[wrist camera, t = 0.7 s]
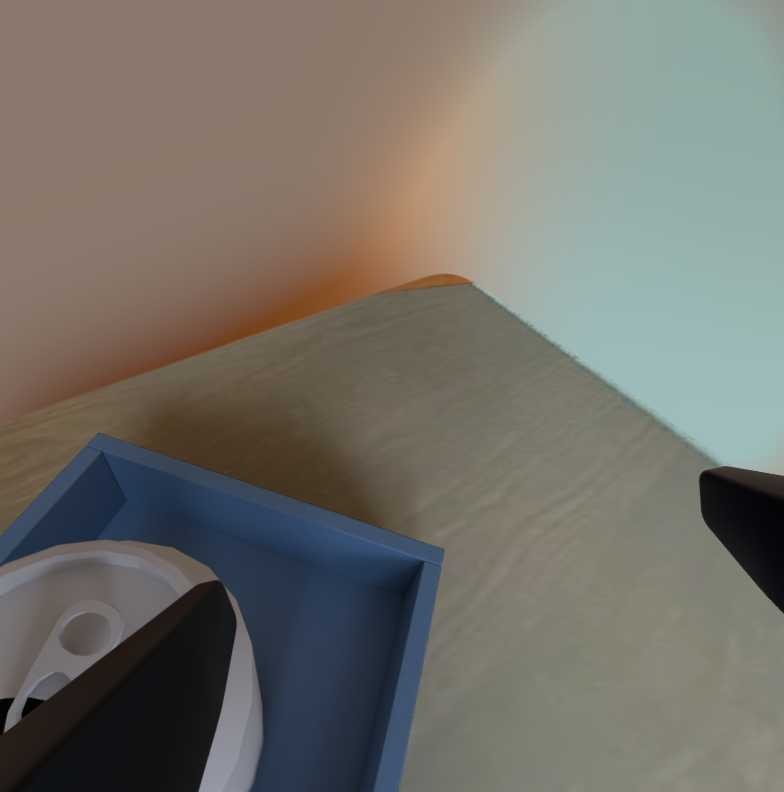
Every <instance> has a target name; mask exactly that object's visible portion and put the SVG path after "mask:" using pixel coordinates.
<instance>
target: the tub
mask: <svg viewBox="0 0 784 792" xmlns="http://www.w3.org/2000/svg"><path fill="white" fill-rule="evenodd" d="M105 539H106V540H112V541H118V542H119V541H128V540H130V541H136V542H142V543H148V544H154V545H160V546H166V547H172V548H174V549H176V550H178V551H180V552H182V553H184V554H185V555H187V556H189V557H191V558H193V559H195V560H196V561H198V562H200V563H202V564H204V565H206V566H207V567H209V568H210V569H211V570H212V571H213V573H214V574H215V575H216V576H217V577H218V579H219V580H220V581H221V582H222V583H223V584H224V586H225V587H226V588H227V589H228V590H229V592H230V593H231V594H232V595H233V596H234V598H235V599H236V601H237V603H238V606H239V609H240V612H241V615H242V618H243V620H244V623H245V626H246V629H247V632H248V635H249V638H250V640H251V643H252V649H253V654H254V660H255V666H256V671H257V677H258V683H259V688H260V694H261V699H262V705H263V730H264V745H263V749H262V754H261V758H260V762H259V767H258V771H257V775H256V780H255V784H254V786H253V788H252V790H251V792H399V787H400V782H401V776H402V771H403V766H404V761H405V756H406V750H407V745H408V740H409V735H410V730H411V724H412V719H413V714H414V709H415V703H416V698H417V693H418V688H419V683H420V677H421V672H422V667H423V662H424V657H425V651H426V646H427V641H428V636H429V630H430V625H431V620H432V615H433V610H434V604H435V599H436V594H437V589H438V584H439V578H440V573H441V566H442V562H443V557H444V552H445V550H444V549H441V548H438V547H436V546H433V545H430V544H427V543H424V542H421V541H418V540H415V539H412V538H409V537H406V536H403V535H400V534H397V533H394V532H391V531H388V530H385V529H382V528H379V527H376V526H373V525H370V524H367V523H364V522H361V521H359V520H356V519H353V518H350V517H347V516H344V515H341V514H338V513H335V512H332V511H329V510H326V509H323V508H320V507H317V506H314V505H311V504H308V503H305V502H302V501H299V500H296V499H293V498H290V497H287V496H284V495H282V494H279V493H276V492H273V491H270V490H267V489H264V488H261V487H258V486H255V485H252V484H249V483H246V482H243V481H240V480H237V479H234V478H231V477H228V476H225V475H222V474H219V473H216V472H213V471H210V470H207V469H205V468H202V467H199V466H196V465H193V464H190V463H187V462H184V461H181V460H178V459H175V458H172V457H169V456H166V455H163V454H160V453H157V452H154V451H151V450H148V449H145V448H142V447H139V446H136V445H133V444H130V443H128V442H125V441H122V440H119V439H116V438H113V437H110V436H107V435H104V434H101V433H98V434H97V435H96V436H95V437H94V438H93V439H92V440H91V441H90V442H89V443H88V444H87V446H86V447H85V448H84V449H83V450H82V451H81V452H80V453H79V454H78V455H77V456H76V457H75V458H74V459H73V460H72V461H71V462H70V463H69V464H68V466H67V467H66V468H65V469H64V470H63V471H62V472H61V473H60V474H59V475H58V476H57V477H56V478H55V479H54V480H53V481H52V482H51V484H50V485H49V486H48V487H47V488H46V489H45V490H44V491H43V492H42V493H41V494H40V495H39V496H38V497H37V498H36V499H35V500H34V502H33V503H32V504H31V505H30V506H29V507H28V508H27V509H26V510H25V511H24V512H23V513H22V514H21V515H20V516H19V517H18V518H17V520H16V521H15V522H14V523H13V524H12V525H11V526H10V527H9V528H8V529H7V530H6V531H5V532H4V533H3V534H2V535H1V536H0V567H1V566H3V565H5V564H6V563H9V562H12V561H15V560H17V559H20V558H23V557H26V556H29V555H31V554H34V553H37V552H40V551H43V550H45V549H48V548H51V547H54V546H57V545H62V544H71V543H79V542H88V541H97V540H105Z"/></svg>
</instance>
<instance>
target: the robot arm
mask: <svg viewBox="0 0 784 792" xmlns="http://www.w3.org/2000/svg"><path fill="white" fill-rule="evenodd" d="M699 486H700V501H701V513H702V516H703V519H704V521H705V523H706V524H707V526H708V527H709V528H710V530H711V531H712V532H713V533H714V534H715V536H716V537H717V538H718V539H719V540H720V542H721V543H722V544H723V545H724V546H725V547H726V549H727V550H728V551H729V552H730V553H731V555H732V556H733V557H734V558H735V559H736V561H737V562H738V563H739V564H740V565H741V567H742V568H743V569H744V570H745V571H746V573H747V574H748V575H749V576H750V577H751V578H752V580H753V581H754V582H755V583H756V584H757V586H758V587H759V588H760V589H761V590H762V591H763V592H764V593H765V595H766V596H767V597H768V598H769V599H770V600H771V601H772V602H773V603H774V604H775V605H776V606H777V607H778V608H779V609H780V610H781V611H782V612H783V613H784V476H781V475H775V474H769V473H763V472H758V471H752V470H746V469H740V468H734V467H728V466H723V467H718V468H714V469H709V470H705V471H703V472H702V473H701V474H700V477H699ZM236 630H237V619H236V614H235V611H234V609H233V606H232V604H231V601H230V599H229V596H228V594H227V591H226V589H225V586H224V584H223V583H222V582H221V581H219V580H213V581H208V582H204V583H200V584H197V585H196V586H194V587H193V588H192V589H190V590H189V591H188V592H186V593H185V594H184V595H183V596H181V597H180V598H179V599H177V600H176V601H175V602H173V603H172V604H171V605H170V606H168V607H167V608H166V609H164V610H163V611H162V612H160V613H159V614H158V615H157V616H155V617H154V618H153V619H151V620H150V621H149V622H147V623H146V624H145V625H144V626H142V627H141V628H140V629H138V630H137V631H136V632H134V633H133V634H132V635H131V636H129V637H128V638H127V639H125V640H124V641H123V642H121V643H120V644H119V645H118V646H116V647H115V648H114V649H112V650H111V651H110V652H108V653H107V654H106V655H105V656H103V657H102V658H101V659H99V660H98V661H97V662H95V663H94V664H93V665H92V666H90V667H89V668H88V669H86V670H85V671H84V672H82V673H81V674H80V675H79V676H77V677H76V678H75V679H73V680H72V681H71V682H69V683H68V684H67V685H66V686H64V687H63V688H62V689H60V690H59V691H58V692H56V693H55V694H54V695H53V696H51V697H50V698H49V699H47V700H46V701H45V702H43V703H42V704H41V705H40V706H38V707H37V708H36V709H34V710H33V711H32V712H30V713H29V714H28V715H27V716H25V717H24V718H23V719H21V720H20V721H19V722H17V723H16V724H15V725H14V726H12V727H11V728H10V729H8V730H7V731H6V732H4V733H3V734H2V735H1V736H0V792H199V789H200V785H201V782H202V778H203V775H204V771H205V768H206V764H207V761H208V757H209V754H210V750H211V747H212V743H213V740H214V736H215V733H216V729H217V725H218V722H219V718H220V714H221V710H222V705H223V700H224V695H225V690H226V684H227V679H228V673H229V668H230V662H231V657H232V652H233V646H234V641H235V635H236Z"/></svg>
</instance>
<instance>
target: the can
mask: <svg viewBox="0 0 784 792" xmlns="http://www.w3.org/2000/svg"><path fill="white" fill-rule="evenodd" d="M213 580H219V579H218V577H217V576H216V575H215V574H214V573H213V571H212V570H211V569H210V568H209V567H207V566H206V565H204V564H202V563H200V562H198V561H196V560H195V559H193V558H191V557H189V556H187V555H185V554H184V553H182V552H180V551H178V550H176V549H174V548H172V547H166V546H160V545H154V544H148V543H142V542H136V541H130V540H128V541H119V542H118V541H112V540H106V539H105V540H97V541H88V542H79V543H71V544H62V545H57V546H54V547H51V548H48V549H45V550H43V551H40V552H37V553H34V554H31V555H29V556H26V557H23V558H20V559H17V560H15V561H12V562H9V563H6V564H5V565H3V566H1V567H0V736H1V735H2V734H3V733H4V732H6V731H7V730H8V729H10V728H11V727H12V726H14V725H15V724H16V723H17V722H19V721H20V720H21V719H23V718H24V717H25V716H27V715H28V714H29V713H30V712H32V711H33V710H34V709H36V708H37V707H38V706H40V705H41V704H42V703H43V702H45V701H46V700H47V699H49V698H50V697H51V696H53V695H54V694H55V693H56V692H58V691H59V690H60V689H62V688H63V687H64V686H66V685H67V684H68V683H69V682H71V681H72V680H73V679H75V678H76V677H77V676H79V675H80V674H81V673H82V672H84V671H85V670H86V669H88V668H89V667H90V666H92V665H93V664H94V663H95V662H97V661H98V660H99V659H101V658H102V657H103V656H105V655H106V654H107V653H108V652H110V651H111V650H112V649H114V648H115V647H116V646H118V645H119V644H120V643H121V642H123V641H124V640H125V639H127V638H128V637H129V636H131V635H132V634H133V633H134V632H136V631H137V630H138V629H140V628H141V627H142V626H144V625H145V624H146V623H147V622H149V621H150V620H151V619H153V618H154V617H155V616H157V615H158V614H159V613H160V612H162V611H163V610H164V609H166V608H167V607H168V606H170V605H171V604H172V603H173V602H175V601H176V600H177V599H179V598H180V597H181V596H183V595H184V594H185V593H186V592H188V591H189V590H190V589H192V588H193V587H194V586H196V585H197V584H200V583H204V582H208V581H213ZM219 581H220V580H219ZM225 589H226V591H227V594H228V596H229V599H230V601H231V604H232V606H233V609H234V611H235V614H236V619H237V630H236V635H235V641H234V646H233V652H232V657H231V662H230V668H229V673H228V679H227V684H226V690H225V695H224V700H223V705H222V710H221V714H220V718H219V722H218V725H217V729H216V733H215V736H214V740H213V743H212V747H211V750H210V754H209V757H208V761H207V764H206V768H205V771H204V775H203V778H202V782H201V785H200V789H199V792H251V790H252V788H253V786H254V784H255V780H256V775H257V771H258V767H259V762H260V758H261V754H262V749H263V745H264V730H263V705H262V699H261V694H260V688H259V683H258V677H257V671H256V666H255V660H254V654H253V649H252V643H251V640H250V638H249V635H248V632H247V629H246V626H245V623H244V620H243V618H242V615H241V612H240V609H239V606H238V603H237V601H236V599H235V598H234V596H233V595H232V594H231V593H230V592H229V590H228V589H227V588H226V587H225Z"/></svg>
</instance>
